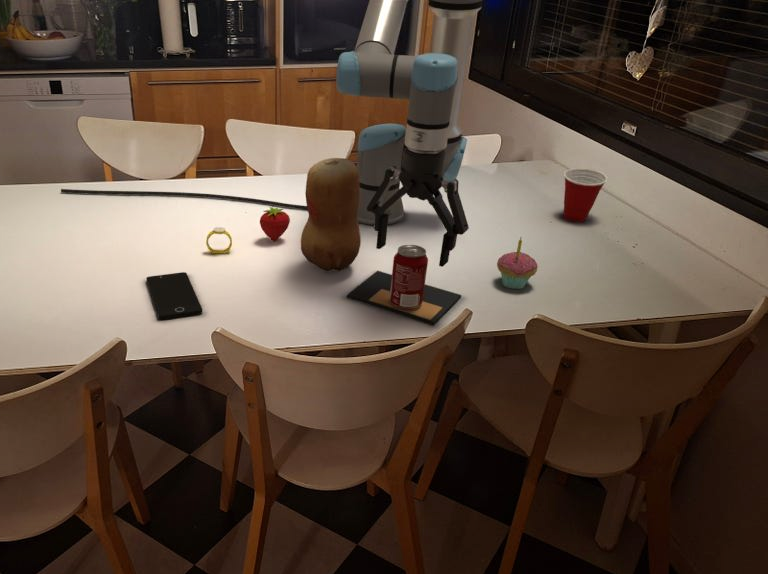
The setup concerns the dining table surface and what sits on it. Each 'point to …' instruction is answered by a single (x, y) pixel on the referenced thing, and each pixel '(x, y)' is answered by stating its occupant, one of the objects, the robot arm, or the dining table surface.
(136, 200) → the dining table surface
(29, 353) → the dining table surface
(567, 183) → the plastic cup
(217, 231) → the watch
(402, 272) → the soda can
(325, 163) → the butternut squash
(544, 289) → the dining table surface
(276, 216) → the strawberry
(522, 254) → the cupcake
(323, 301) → the dining table surface
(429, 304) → the mat
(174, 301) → the cell phone
